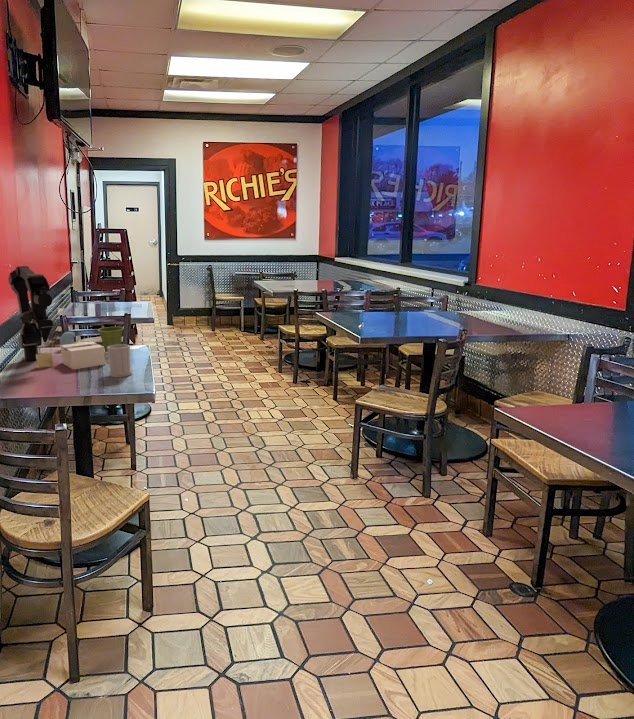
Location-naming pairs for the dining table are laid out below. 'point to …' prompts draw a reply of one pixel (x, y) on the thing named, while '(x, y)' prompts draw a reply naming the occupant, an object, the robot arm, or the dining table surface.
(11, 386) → the dining table surface
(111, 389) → the dining table surface
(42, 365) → the block
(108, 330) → the plant pot
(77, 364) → the box
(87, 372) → the dining table surface
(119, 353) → the cup
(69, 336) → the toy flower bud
